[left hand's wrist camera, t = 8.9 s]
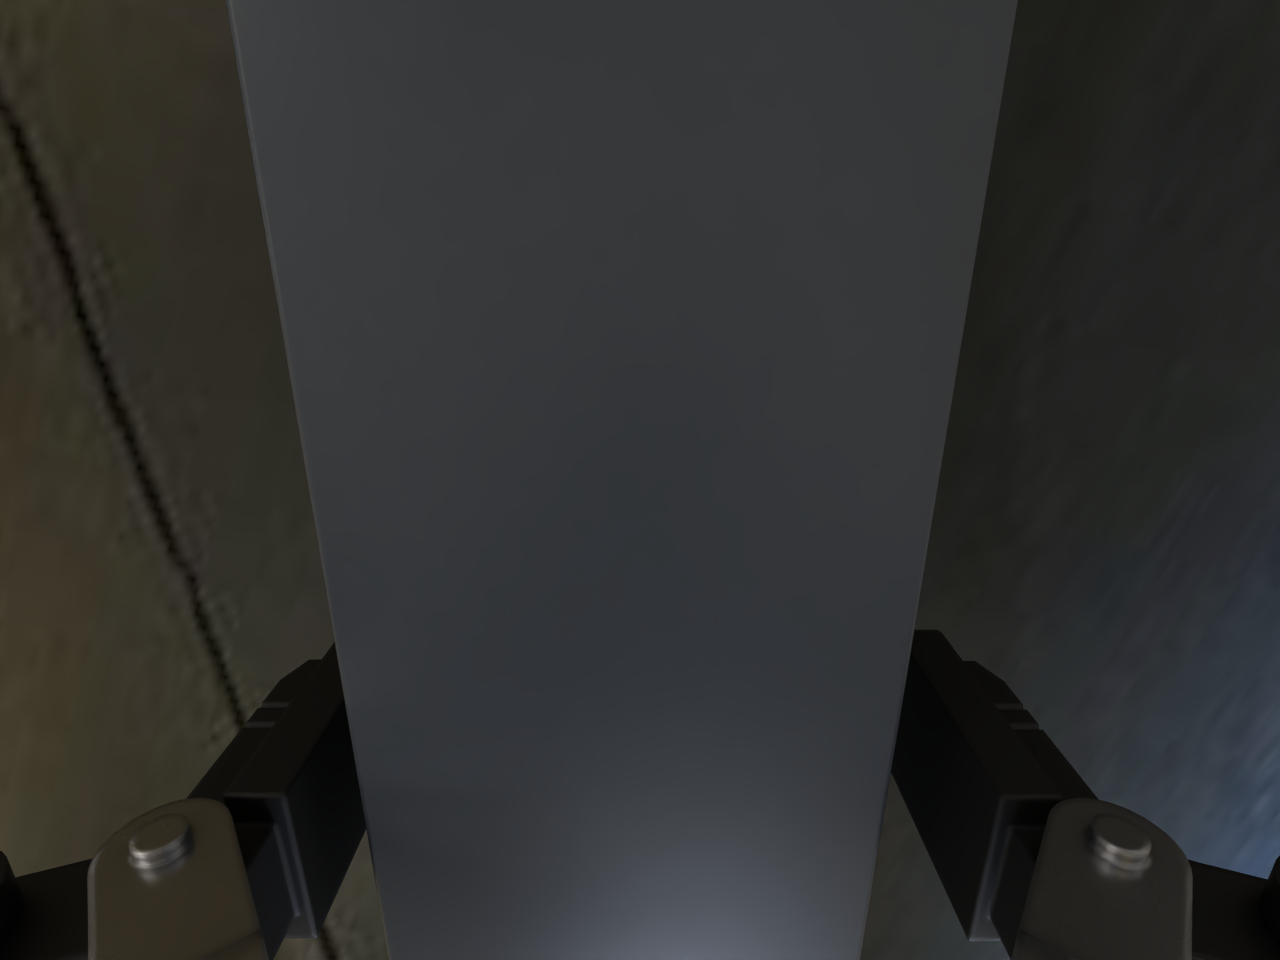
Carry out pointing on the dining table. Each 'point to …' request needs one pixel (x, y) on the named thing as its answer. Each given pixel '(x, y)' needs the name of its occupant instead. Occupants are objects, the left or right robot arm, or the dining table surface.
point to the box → (623, 439)
